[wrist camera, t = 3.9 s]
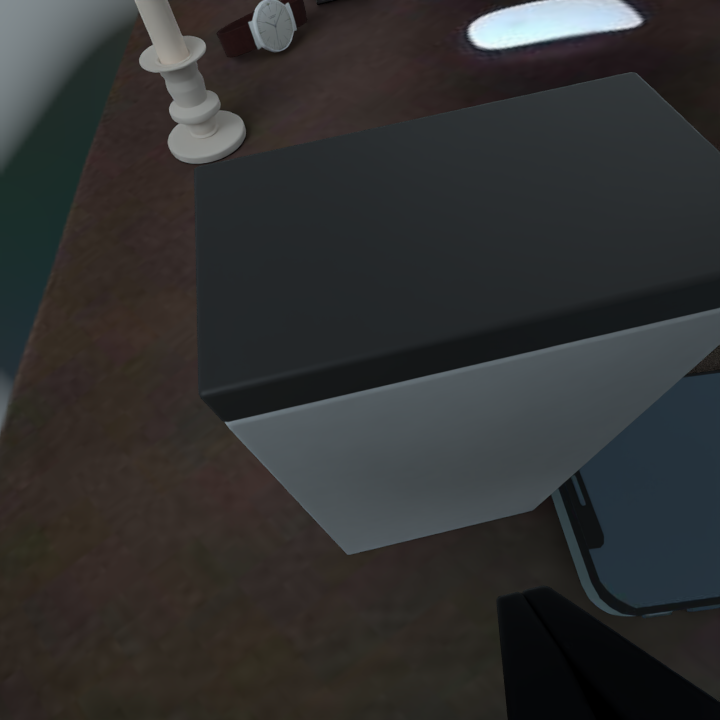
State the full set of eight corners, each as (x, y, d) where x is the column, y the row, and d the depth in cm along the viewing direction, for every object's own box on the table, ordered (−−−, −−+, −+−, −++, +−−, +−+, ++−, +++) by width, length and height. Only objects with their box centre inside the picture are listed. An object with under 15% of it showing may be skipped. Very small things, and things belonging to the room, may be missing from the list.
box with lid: (534, 510, 16) (829, 251, 5) (347, 555, 16) (195, 397, 5) (494, 412, 18) (636, 68, 7) (328, 451, 18) (191, 165, 7)
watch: (244, 75, 34) (227, 20, 31) (213, 55, 36) (194, 2, 33) (322, 34, 36) (314, -21, 33) (288, 18, 38) (277, -35, 35)
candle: (243, 110, 31) (176, -92, 22) (249, 153, 29) (178, -57, 20) (170, 127, 31) (75, -71, 22) (171, 172, 29) (62, -32, 20)
